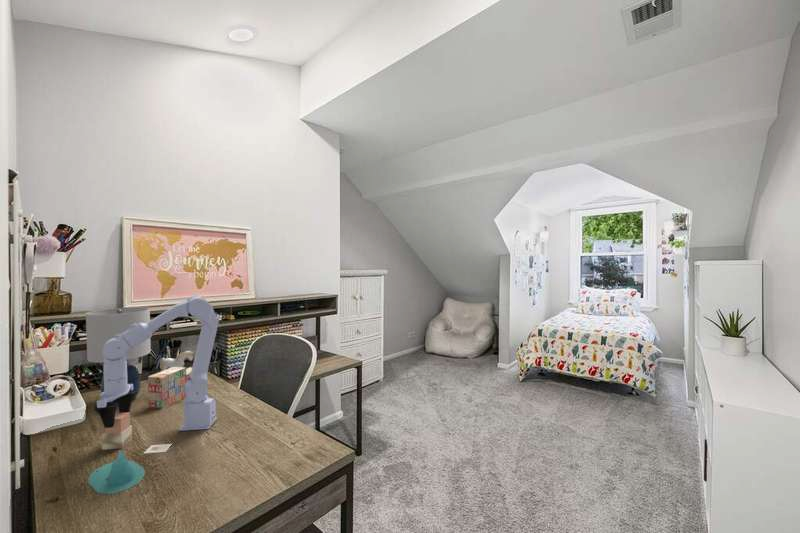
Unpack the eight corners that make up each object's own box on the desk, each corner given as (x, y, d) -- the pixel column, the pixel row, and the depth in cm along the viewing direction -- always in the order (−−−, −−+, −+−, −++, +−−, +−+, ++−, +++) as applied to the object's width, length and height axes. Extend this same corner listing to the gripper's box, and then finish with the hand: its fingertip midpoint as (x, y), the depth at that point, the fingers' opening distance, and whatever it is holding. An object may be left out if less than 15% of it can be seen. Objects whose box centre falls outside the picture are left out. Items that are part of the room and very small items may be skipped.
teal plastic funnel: (131, 454, 109) (131, 425, 109) (156, 480, 97) (155, 447, 96) (78, 473, 100) (77, 442, 100) (97, 504, 87) (96, 468, 87)
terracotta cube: (130, 426, 117) (129, 412, 117) (121, 433, 112) (120, 418, 112) (114, 427, 116) (114, 413, 116) (105, 434, 112) (104, 419, 112)
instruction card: (172, 444, 114) (172, 443, 114) (165, 452, 110) (165, 451, 110) (151, 445, 113) (151, 445, 113) (143, 453, 109) (143, 452, 109)
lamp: (152, 402, 147) (149, 310, 145) (85, 415, 135) (82, 315, 134) (151, 387, 163) (149, 304, 162) (92, 397, 152) (89, 308, 151)
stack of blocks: (190, 388, 163) (189, 360, 163) (202, 388, 162) (202, 361, 161) (148, 407, 142) (147, 375, 142) (162, 408, 141) (161, 376, 140)
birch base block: (132, 439, 118) (131, 425, 117) (122, 448, 112) (121, 433, 112) (113, 440, 117) (112, 426, 117) (102, 449, 111) (101, 435, 111)
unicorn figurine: (194, 381, 172) (193, 352, 171) (151, 381, 171) (150, 352, 171) (201, 375, 179) (201, 348, 178) (161, 376, 178) (160, 349, 178)
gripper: (116, 371, 120) (117, 412, 121) (84, 386, 106) (86, 433, 106) (139, 370, 121) (140, 410, 122) (111, 385, 107) (113, 431, 107)
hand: (117, 421), depth 114 cm, fingers open, 7 cm apart
